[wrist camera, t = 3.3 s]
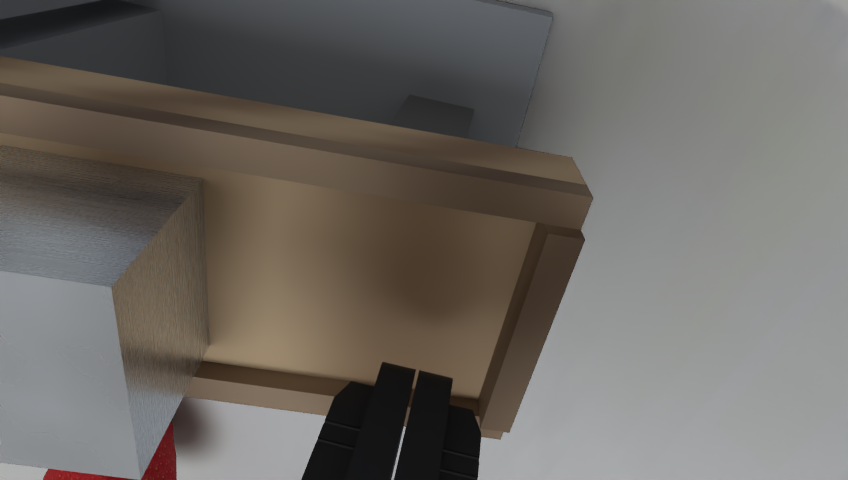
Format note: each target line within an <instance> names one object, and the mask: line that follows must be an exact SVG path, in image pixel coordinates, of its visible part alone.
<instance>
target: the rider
mask: <svg viewBox="0 0 848 480" xmlns="http://www.w3.org/2000/svg"><path fill="white" fill-rule="evenodd" d="M209 346H210V345H209V318H208V292H207V266H206V240H205V214H204V187H203V178H198V177H192V176H186V175H180V174H174V173H168V172H162V171H156V170H150V169H144V168H138V167H132V166H126V165H120V164H114V163H108V162H102V161H96V160H90V159H84V158H78V157H72V156H66V155H59V154H53V153H47V152H41V151H35V150H29V149H23V148H17V147H11V146H5V145H0V463H8V464H16V465H24V466H32V467H40V468H48V469H56V470H64V471H72V472H80V473H88V474H96V475H104V476H112V477H120V478H128V479H137V480H141V478H142V477H143V475H144V473H145V471H146V469H147V467H148V465H149V463H150V461H151V459H152V457H153V455H154V453H155V451H156V449H157V447H158V445H159V443H160V441H161V439H162V437H163V436H164V434H165V432H166V430H167V428H168V426H169V424H170V422H171V420H172V418H173V416H174V414H175V412H176V410H177V408H178V406H179V404H180V402H181V400H182V398H183V397H184V395H185V393H186V391H187V389H188V387H189V385H190V383H191V381H192V379H193V377H194V375H195V373H196V371H197V369H198V367H199V365H200V363H201V361H202V359H203V357H204V356H205V354H206V352H207V350H208V348H209Z"/></svg>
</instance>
